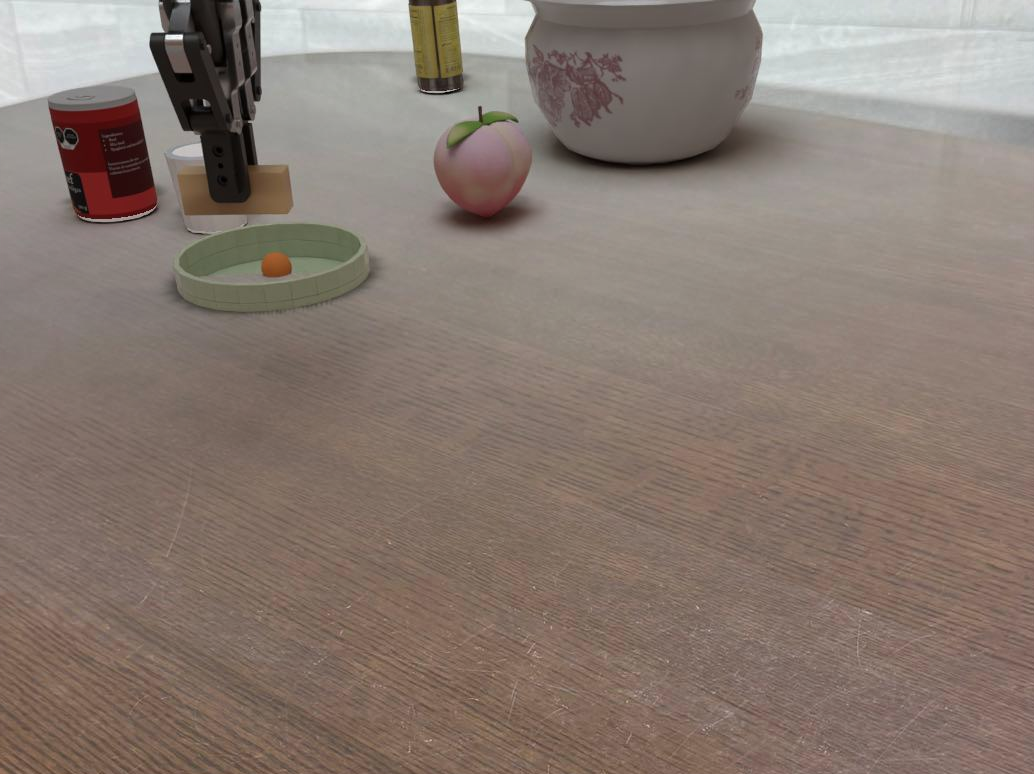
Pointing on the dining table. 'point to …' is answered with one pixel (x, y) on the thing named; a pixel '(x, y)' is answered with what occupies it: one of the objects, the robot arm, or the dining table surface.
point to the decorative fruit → (483, 162)
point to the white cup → (176, 162)
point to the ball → (276, 265)
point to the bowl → (242, 252)
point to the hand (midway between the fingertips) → (236, 194)
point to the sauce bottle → (436, 44)
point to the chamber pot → (642, 74)
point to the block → (265, 198)
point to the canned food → (103, 151)
